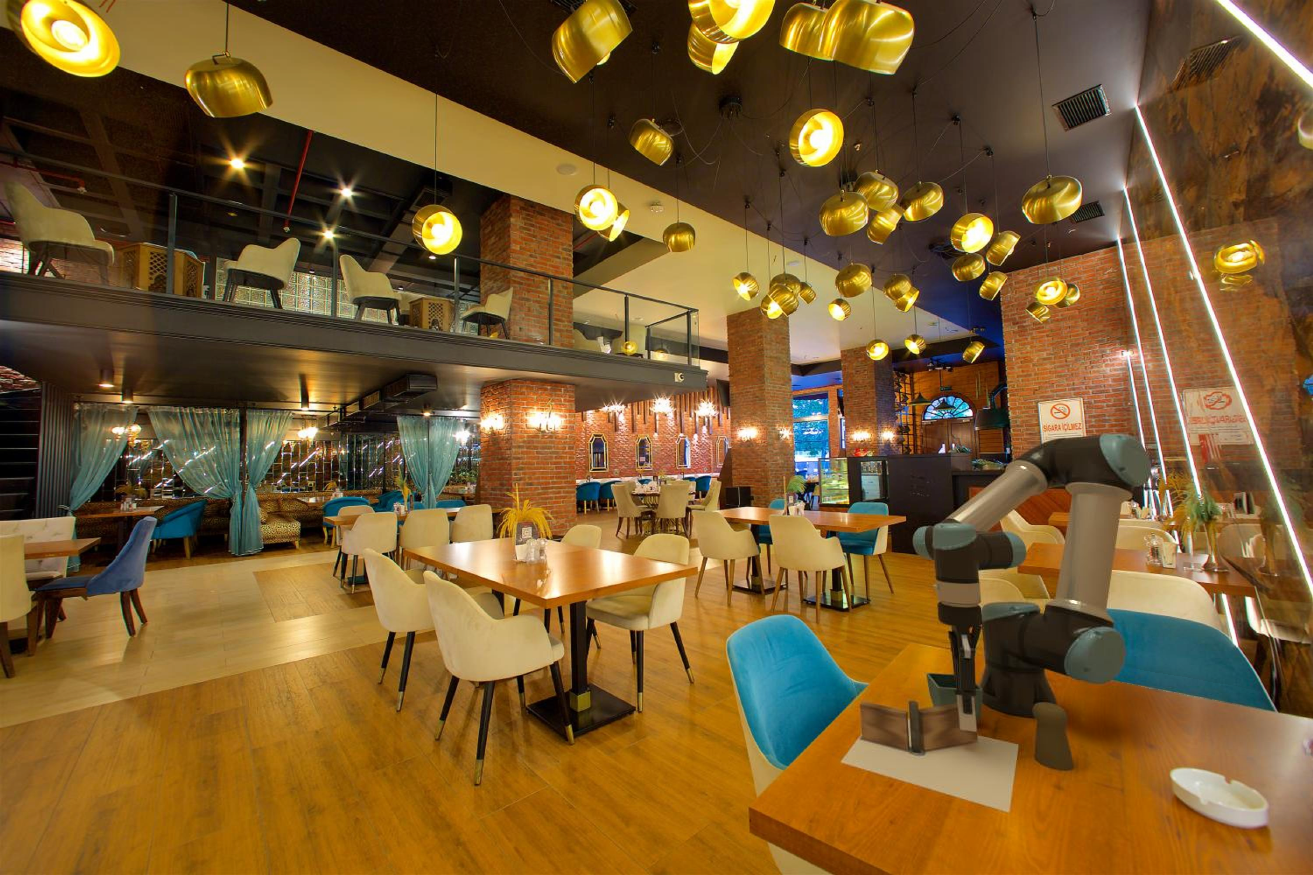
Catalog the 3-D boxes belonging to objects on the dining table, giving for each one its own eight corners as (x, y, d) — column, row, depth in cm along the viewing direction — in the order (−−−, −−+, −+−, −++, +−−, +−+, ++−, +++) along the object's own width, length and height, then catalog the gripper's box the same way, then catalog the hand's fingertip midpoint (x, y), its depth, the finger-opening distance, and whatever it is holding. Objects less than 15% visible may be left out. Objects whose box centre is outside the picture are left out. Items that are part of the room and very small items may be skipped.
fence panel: (925, 750, 100) (922, 713, 100) (918, 746, 101) (916, 709, 102) (978, 740, 103) (975, 704, 104) (970, 736, 105) (968, 701, 105)
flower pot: (987, 734, 108) (983, 689, 109) (940, 731, 110) (937, 686, 111) (970, 716, 117) (967, 674, 118) (928, 713, 119) (925, 672, 120)
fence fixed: (921, 750, 100) (918, 701, 101) (919, 754, 99) (916, 704, 100) (864, 735, 107) (862, 689, 108) (861, 739, 105) (859, 692, 106)
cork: (1067, 761, 97) (1062, 700, 98) (1081, 779, 92) (1075, 713, 93) (1029, 757, 99) (1024, 696, 100) (1040, 773, 94) (1035, 709, 95)
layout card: (1019, 749, 102) (1018, 744, 102) (1009, 819, 81) (1009, 811, 81) (878, 716, 118) (878, 711, 118) (840, 767, 97) (840, 761, 97)
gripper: (933, 595, 111) (941, 712, 108) (941, 608, 99) (951, 740, 96) (974, 597, 108) (983, 718, 106) (988, 611, 96) (998, 747, 93)
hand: (967, 728), depth 101 cm, fingers closed
